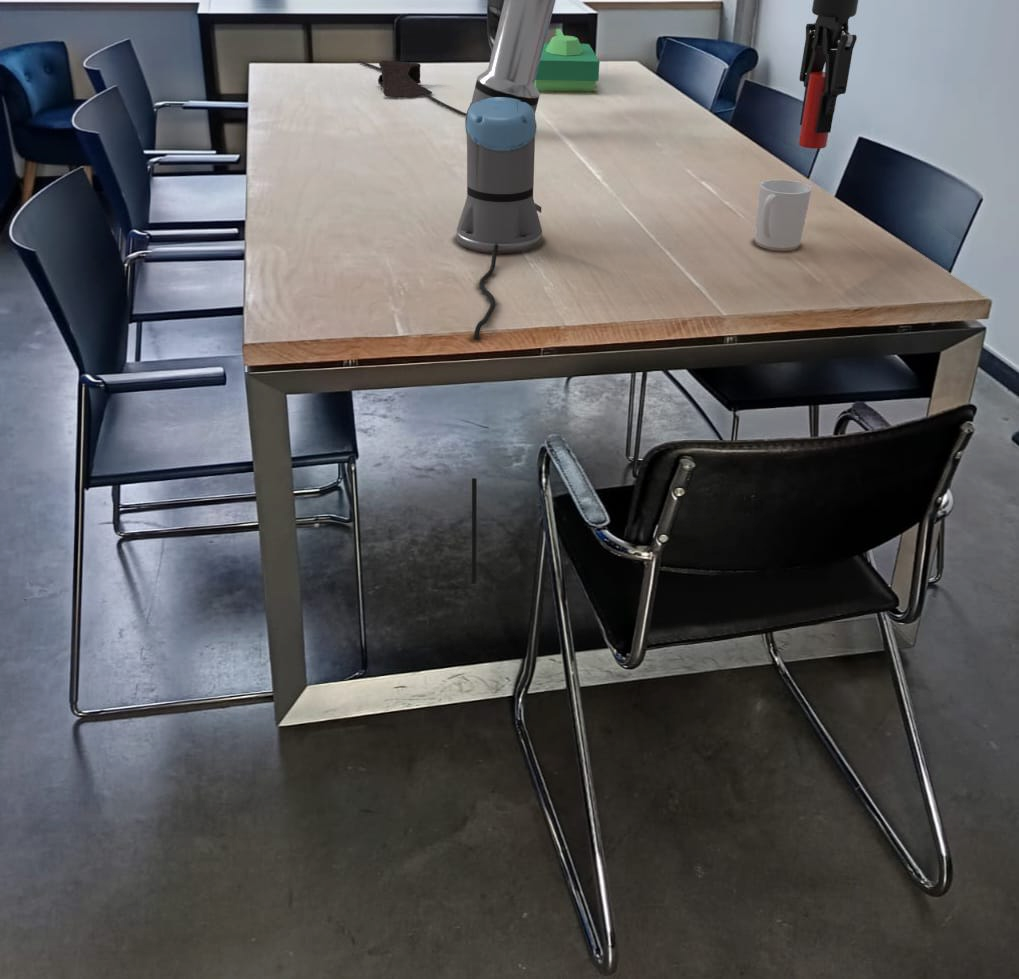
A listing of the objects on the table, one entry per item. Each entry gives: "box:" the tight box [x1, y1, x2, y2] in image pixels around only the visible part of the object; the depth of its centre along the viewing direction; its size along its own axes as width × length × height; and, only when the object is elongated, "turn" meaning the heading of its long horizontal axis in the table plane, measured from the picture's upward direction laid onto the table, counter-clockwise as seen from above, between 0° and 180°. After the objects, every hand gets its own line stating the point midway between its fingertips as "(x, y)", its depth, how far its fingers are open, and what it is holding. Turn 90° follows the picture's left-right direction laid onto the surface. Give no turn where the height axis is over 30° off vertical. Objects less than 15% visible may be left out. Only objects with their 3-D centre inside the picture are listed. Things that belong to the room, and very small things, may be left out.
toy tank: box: [535, 28, 601, 92], centre depth 313 cm, size 18×12×35 cm
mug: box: [754, 178, 812, 252], centre depth 194 cm, size 11×9×10 cm
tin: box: [798, 71, 829, 150], centre depth 199 cm, size 5×5×12 cm
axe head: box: [377, 59, 433, 99], centre depth 299 cm, size 18×8×15 cm
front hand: (814, 128), depth 201 cm, fingers closed on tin, 5 cm apart
